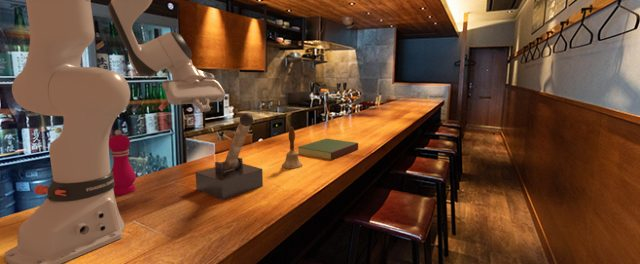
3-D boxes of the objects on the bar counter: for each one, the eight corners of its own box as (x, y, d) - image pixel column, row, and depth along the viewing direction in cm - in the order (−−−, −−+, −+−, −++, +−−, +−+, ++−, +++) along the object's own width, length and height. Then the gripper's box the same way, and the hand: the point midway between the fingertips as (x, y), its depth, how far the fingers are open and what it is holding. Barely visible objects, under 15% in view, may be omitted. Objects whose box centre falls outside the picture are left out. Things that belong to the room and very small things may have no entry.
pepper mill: (125, 196, 105) (118, 132, 101) (105, 194, 107) (98, 131, 103) (142, 188, 112) (136, 128, 108) (123, 186, 114) (116, 127, 110)
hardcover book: (331, 160, 149) (331, 152, 148) (297, 154, 159) (297, 146, 158) (358, 150, 169) (359, 142, 168) (327, 145, 179) (327, 138, 179)
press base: (196, 189, 111) (194, 161, 109) (236, 177, 124) (235, 152, 122) (222, 199, 103) (221, 169, 101) (262, 186, 115) (262, 158, 113)
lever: (216, 166, 111) (236, 111, 101) (231, 162, 116) (252, 109, 105) (223, 174, 109) (244, 119, 99) (238, 170, 114) (260, 117, 103)
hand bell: (305, 167, 137) (305, 128, 134) (285, 169, 134) (284, 129, 131) (298, 162, 144) (298, 124, 142) (279, 164, 141) (278, 126, 139)
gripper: (162, 74, 110) (180, 106, 106) (216, 74, 126) (234, 102, 121) (156, 87, 114) (173, 119, 109) (210, 86, 129) (227, 113, 125)
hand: (206, 110), depth 115 cm, fingers closed
